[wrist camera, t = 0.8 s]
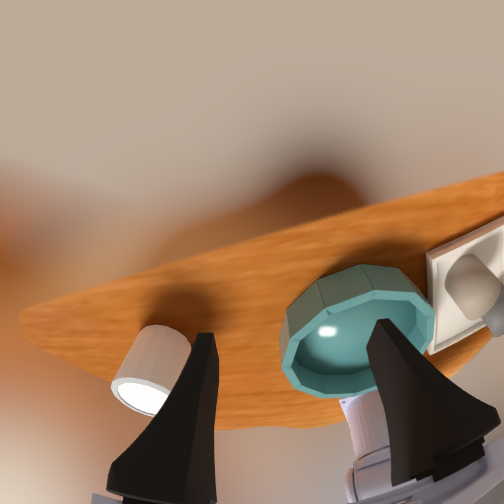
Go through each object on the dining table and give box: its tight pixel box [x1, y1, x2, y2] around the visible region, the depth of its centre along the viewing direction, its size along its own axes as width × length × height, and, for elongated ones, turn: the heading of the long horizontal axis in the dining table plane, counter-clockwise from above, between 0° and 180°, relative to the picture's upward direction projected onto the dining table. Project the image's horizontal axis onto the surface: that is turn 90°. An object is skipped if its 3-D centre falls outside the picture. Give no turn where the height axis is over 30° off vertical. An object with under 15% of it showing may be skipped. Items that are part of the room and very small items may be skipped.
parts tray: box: [426, 216, 504, 355], centre depth 22 cm, size 14×13×1 cm
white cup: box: [111, 325, 191, 417], centre depth 23 cm, size 7×7×7 cm
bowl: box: [279, 264, 435, 398], centre depth 23 cm, size 14×14×4 cm
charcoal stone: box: [481, 283, 504, 337], centre depth 21 cm, size 5×5×4 cm
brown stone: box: [445, 254, 501, 320], centre depth 19 cm, size 5×5×4 cm
